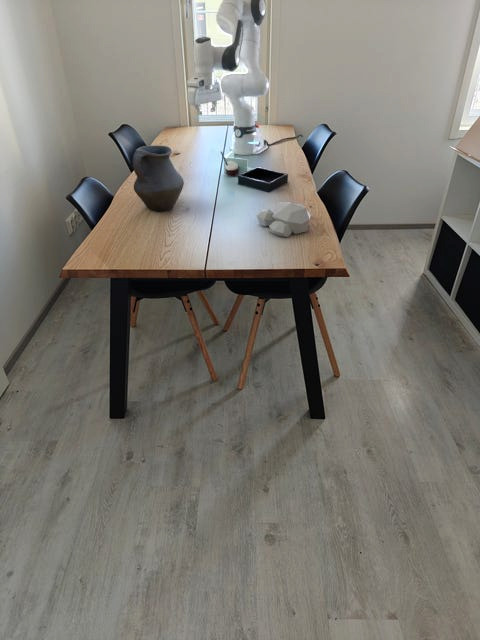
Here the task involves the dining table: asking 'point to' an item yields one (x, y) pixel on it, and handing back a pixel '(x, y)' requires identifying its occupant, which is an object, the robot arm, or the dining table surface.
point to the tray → (262, 179)
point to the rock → (285, 219)
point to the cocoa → (231, 167)
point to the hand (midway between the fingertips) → (206, 113)
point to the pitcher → (156, 177)
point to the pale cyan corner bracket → (241, 163)
